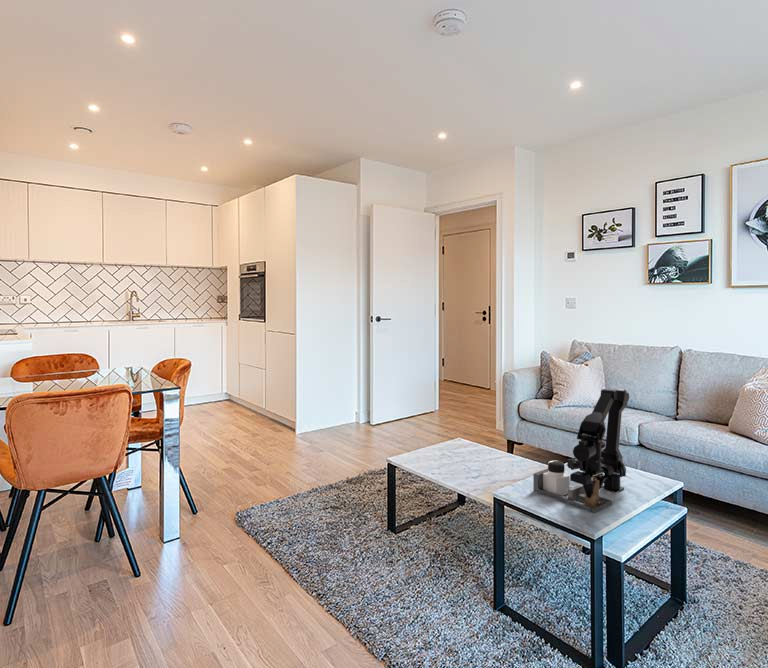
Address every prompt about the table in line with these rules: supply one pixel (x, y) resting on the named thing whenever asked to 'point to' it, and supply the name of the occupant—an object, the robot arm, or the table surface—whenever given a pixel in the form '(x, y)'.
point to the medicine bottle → (556, 479)
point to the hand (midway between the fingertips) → (591, 496)
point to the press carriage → (580, 494)
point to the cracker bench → (539, 489)
